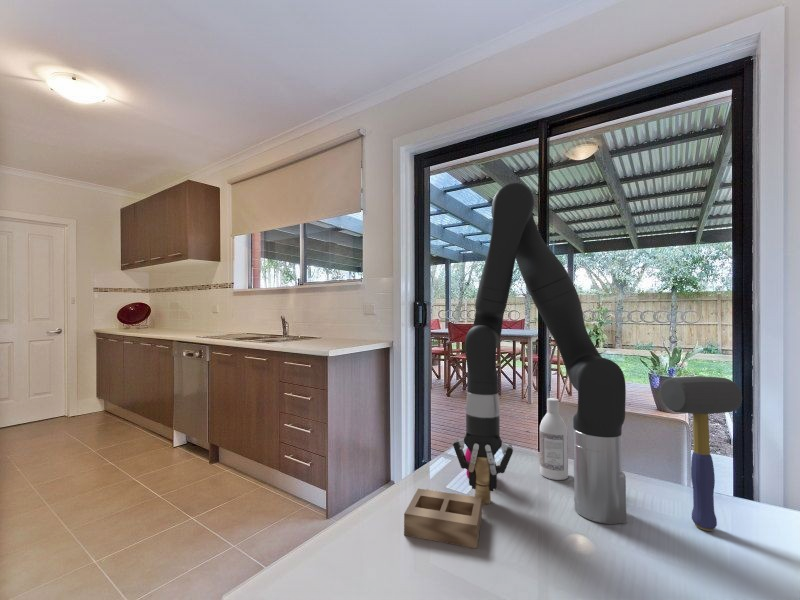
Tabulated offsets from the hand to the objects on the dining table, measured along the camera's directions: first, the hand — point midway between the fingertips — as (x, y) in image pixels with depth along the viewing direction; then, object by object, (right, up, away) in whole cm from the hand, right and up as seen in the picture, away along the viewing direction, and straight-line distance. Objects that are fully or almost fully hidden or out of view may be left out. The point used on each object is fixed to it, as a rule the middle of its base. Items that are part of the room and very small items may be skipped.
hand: (482, 488), depth 84 cm
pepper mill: (+2, -4, +13) cm, 13 cm away
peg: (0, -3, 0) cm, 3 cm away
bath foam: (+22, -4, +14) cm, 26 cm away
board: (-10, -2, -11) cm, 15 cm away
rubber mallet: (+42, -3, -11) cm, 43 cm away
